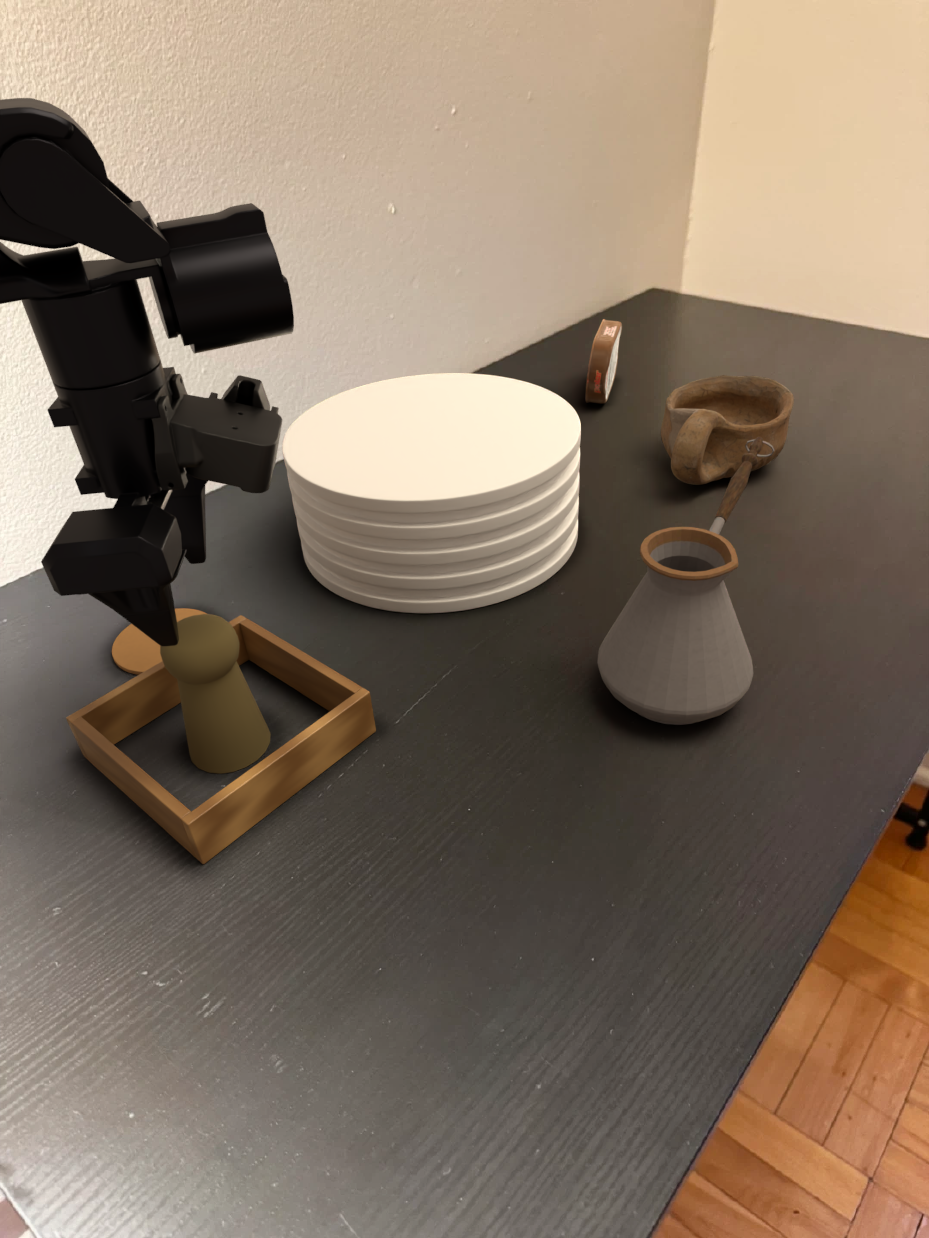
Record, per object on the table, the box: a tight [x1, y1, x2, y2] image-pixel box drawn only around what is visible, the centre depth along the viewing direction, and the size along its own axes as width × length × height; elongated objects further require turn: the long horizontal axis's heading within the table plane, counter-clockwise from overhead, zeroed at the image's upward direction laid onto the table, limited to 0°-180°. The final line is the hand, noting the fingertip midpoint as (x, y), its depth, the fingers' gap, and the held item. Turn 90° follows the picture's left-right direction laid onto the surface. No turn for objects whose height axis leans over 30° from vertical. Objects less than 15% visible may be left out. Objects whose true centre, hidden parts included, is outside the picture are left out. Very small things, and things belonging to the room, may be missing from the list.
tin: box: [584, 318, 623, 404], centre depth 111 cm, size 15×3×8 cm, turn 165°
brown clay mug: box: [660, 374, 795, 486], centre depth 91 cm, size 18×14×10 cm
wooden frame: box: [65, 614, 377, 865], centre depth 62 cm, size 16×16×4 cm
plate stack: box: [281, 372, 582, 614], centre depth 83 cm, size 28×28×12 cm
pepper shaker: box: [160, 613, 271, 774], centre depth 60 cm, size 6×6×11 cm
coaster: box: [111, 607, 207, 676], centre depth 74 cm, size 9×9×1 cm
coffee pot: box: [596, 437, 774, 726], centre depth 64 cm, size 21×12×15 cm, turn 147°
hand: (185, 600), depth 55 cm, fingers open, 9 cm apart
